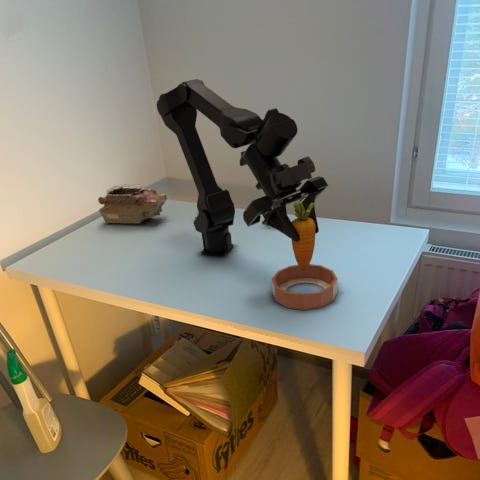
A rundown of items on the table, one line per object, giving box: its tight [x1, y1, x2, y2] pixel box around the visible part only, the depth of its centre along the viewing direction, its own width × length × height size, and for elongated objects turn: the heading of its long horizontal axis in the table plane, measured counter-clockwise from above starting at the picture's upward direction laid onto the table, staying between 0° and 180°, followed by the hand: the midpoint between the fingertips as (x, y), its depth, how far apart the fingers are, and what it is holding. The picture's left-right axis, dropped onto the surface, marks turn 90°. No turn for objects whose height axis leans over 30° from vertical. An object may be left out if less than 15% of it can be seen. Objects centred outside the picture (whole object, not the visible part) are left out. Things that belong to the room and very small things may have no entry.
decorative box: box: [97, 183, 168, 224], centre depth 148 cm, size 13×20×10 cm, turn 67°
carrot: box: [291, 202, 316, 271], centre depth 97 cm, size 5×5×15 cm
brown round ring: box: [271, 263, 338, 311], centre depth 103 cm, size 13×13×4 cm
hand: (307, 236), depth 96 cm, fingers closed on carrot, 5 cm apart
